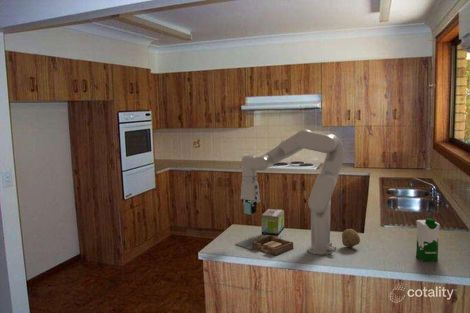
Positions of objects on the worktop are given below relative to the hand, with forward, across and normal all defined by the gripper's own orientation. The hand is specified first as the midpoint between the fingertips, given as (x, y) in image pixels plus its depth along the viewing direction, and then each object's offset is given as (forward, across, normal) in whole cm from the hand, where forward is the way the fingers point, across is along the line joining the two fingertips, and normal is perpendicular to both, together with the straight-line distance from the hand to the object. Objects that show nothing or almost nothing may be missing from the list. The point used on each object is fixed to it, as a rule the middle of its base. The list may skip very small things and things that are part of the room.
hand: (250, 212), depth 218 cm
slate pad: (+18, 0, 0) cm, 18 cm away
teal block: (+1, 0, 0) cm, 1 cm away
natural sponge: (+18, -42, -31) cm, 55 cm away
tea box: (+18, -1, -17) cm, 25 cm away
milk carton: (+18, -76, -42) cm, 89 cm away
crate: (+18, -13, -3) cm, 22 cm away
